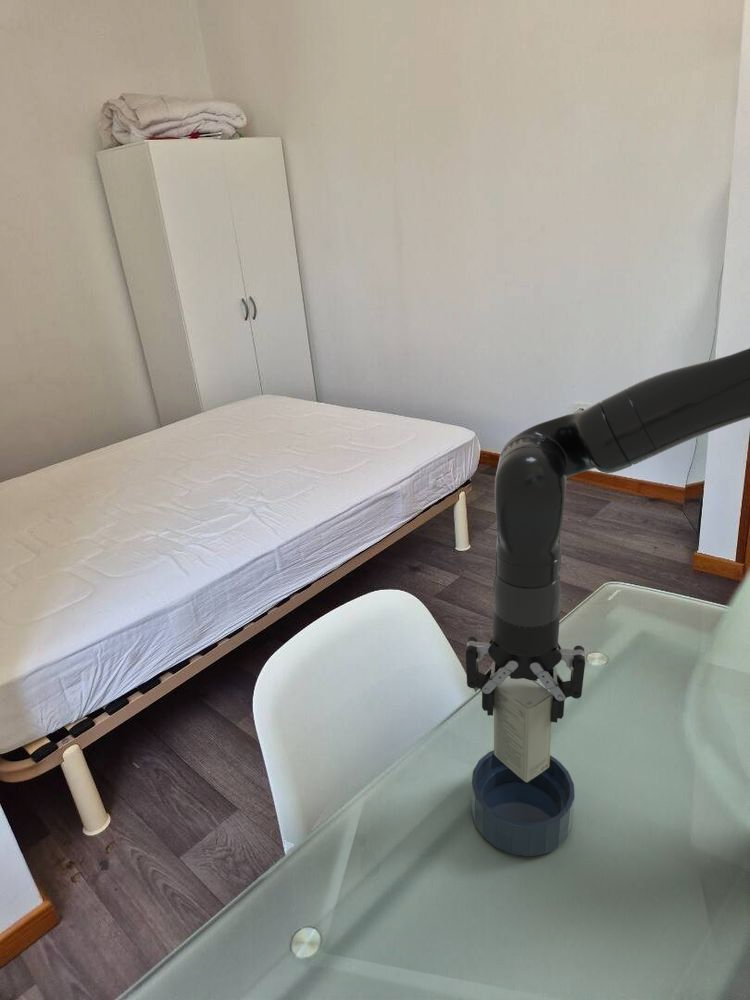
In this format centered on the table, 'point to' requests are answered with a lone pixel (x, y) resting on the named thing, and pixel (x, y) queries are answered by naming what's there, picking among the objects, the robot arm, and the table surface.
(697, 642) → the table surface
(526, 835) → the bowl
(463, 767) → the table surface
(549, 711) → the cosmetic box
